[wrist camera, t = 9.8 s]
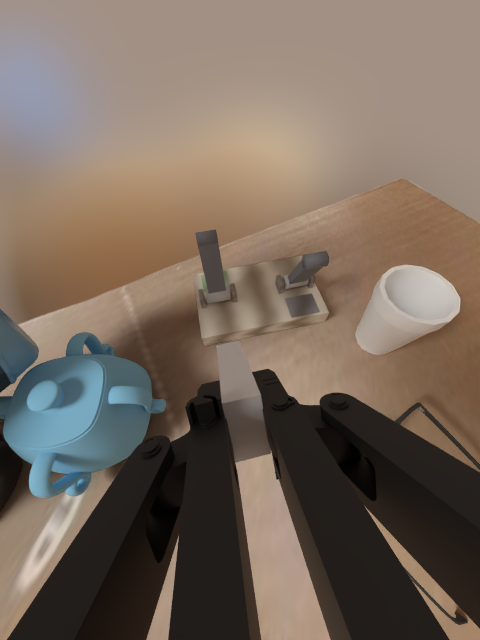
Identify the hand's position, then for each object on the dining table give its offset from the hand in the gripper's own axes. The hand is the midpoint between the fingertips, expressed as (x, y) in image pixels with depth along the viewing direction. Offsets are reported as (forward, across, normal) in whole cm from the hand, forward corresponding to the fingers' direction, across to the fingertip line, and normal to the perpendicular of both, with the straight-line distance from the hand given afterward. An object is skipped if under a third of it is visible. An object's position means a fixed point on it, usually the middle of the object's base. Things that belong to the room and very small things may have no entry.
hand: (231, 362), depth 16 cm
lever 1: (+28, 0, 0) cm, 28 cm away
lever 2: (+29, +14, 0) cm, 32 cm away
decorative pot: (+21, -20, -13) cm, 31 cm away
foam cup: (+23, +25, -11) cm, 36 cm away
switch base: (+31, +7, -2) cm, 32 cm away
